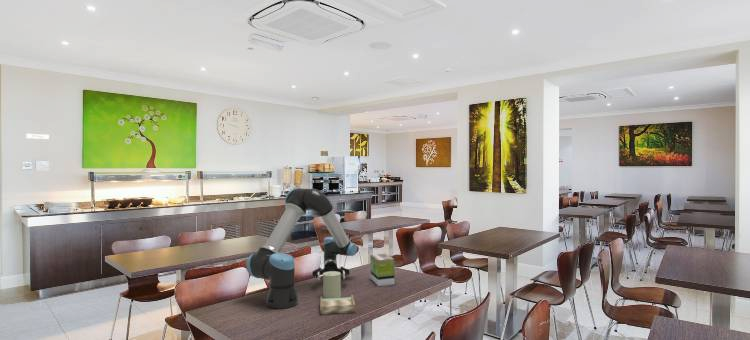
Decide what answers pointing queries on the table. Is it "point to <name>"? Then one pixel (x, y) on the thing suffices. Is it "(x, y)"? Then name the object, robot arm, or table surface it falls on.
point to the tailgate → (336, 299)
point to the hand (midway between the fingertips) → (331, 276)
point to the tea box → (382, 269)
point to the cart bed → (337, 306)
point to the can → (331, 284)
